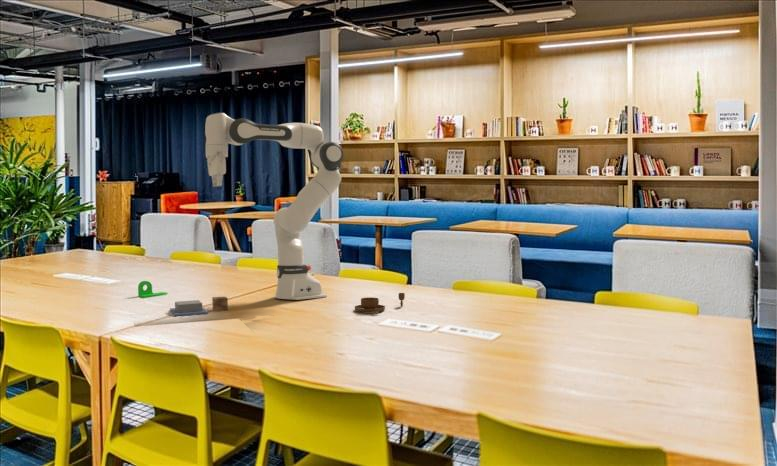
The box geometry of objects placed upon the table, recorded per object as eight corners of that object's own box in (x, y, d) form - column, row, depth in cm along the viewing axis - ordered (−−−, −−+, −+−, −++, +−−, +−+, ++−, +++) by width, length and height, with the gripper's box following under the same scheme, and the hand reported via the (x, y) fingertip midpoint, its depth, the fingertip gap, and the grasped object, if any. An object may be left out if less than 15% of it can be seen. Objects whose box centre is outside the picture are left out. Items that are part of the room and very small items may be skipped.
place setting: (355, 307, 269) (355, 292, 269) (405, 307, 269) (404, 292, 269) (353, 314, 252) (353, 299, 251) (406, 314, 252) (406, 299, 252)
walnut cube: (225, 308, 265) (225, 296, 265) (227, 310, 261) (227, 298, 261) (212, 309, 263) (212, 297, 263) (214, 311, 259) (214, 298, 259)
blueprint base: (201, 308, 267) (201, 298, 267) (207, 314, 252) (207, 304, 252) (170, 310, 262) (169, 300, 262) (174, 316, 247) (174, 306, 247)
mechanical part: (144, 300, 291) (143, 282, 291) (138, 299, 296) (137, 281, 295) (170, 297, 300) (169, 279, 300) (164, 296, 304) (163, 278, 304)
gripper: (229, 150, 265) (230, 185, 265) (220, 154, 283) (220, 186, 284) (213, 150, 262) (214, 185, 263) (205, 154, 281) (205, 186, 281)
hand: (217, 186), depth 274 cm, fingers open, 8 cm apart
